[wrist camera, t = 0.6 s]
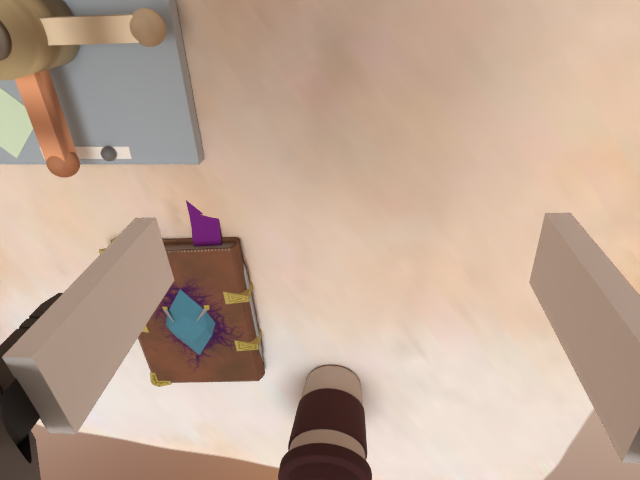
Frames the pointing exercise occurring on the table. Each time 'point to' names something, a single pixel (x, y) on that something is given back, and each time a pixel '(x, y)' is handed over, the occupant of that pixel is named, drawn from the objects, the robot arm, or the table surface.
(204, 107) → the table surface
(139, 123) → the plate
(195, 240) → the book
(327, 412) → the coffee cup
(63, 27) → the capstan
